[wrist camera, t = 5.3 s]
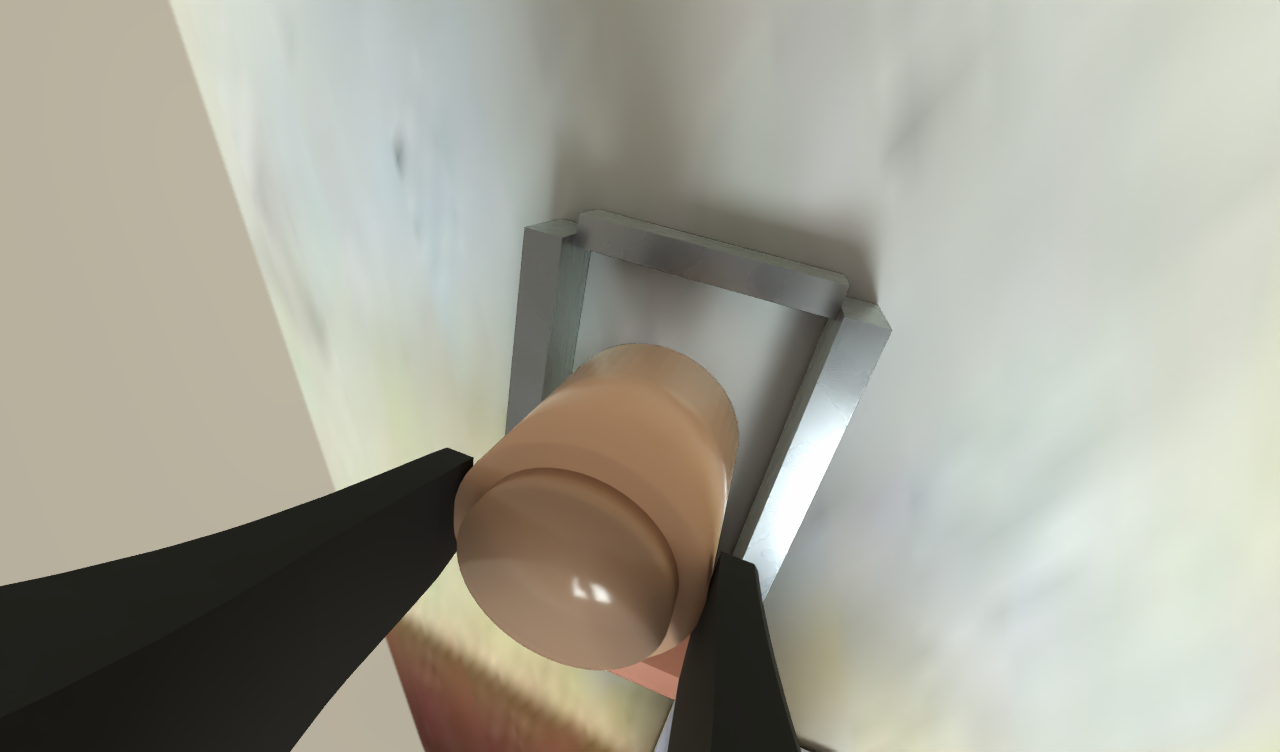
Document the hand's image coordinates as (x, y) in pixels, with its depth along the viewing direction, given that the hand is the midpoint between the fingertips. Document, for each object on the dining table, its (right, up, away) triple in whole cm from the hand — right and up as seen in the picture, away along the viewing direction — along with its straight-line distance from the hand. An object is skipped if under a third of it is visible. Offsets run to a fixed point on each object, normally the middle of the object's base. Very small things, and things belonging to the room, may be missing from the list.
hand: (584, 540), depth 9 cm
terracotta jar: (+1, +2, +4) cm, 4 cm away
